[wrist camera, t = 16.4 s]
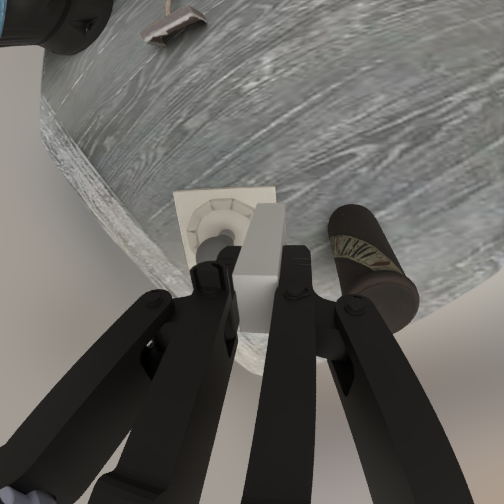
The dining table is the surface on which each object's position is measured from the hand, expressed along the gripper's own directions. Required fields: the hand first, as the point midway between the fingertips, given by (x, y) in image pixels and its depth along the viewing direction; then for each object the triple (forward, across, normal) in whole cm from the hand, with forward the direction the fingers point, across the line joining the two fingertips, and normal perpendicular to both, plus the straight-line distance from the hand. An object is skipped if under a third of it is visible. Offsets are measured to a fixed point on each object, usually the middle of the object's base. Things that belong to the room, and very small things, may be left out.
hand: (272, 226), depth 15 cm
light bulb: (+26, -10, -14) cm, 31 cm away
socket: (+26, -10, -14) cm, 31 cm away
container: (+27, +10, -13) cm, 31 cm away
